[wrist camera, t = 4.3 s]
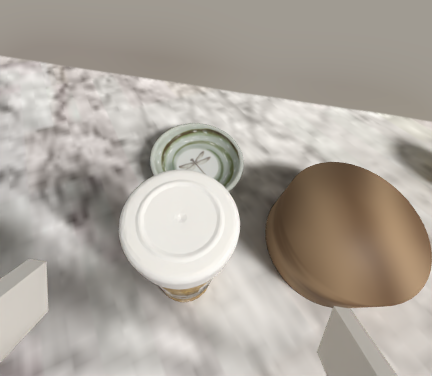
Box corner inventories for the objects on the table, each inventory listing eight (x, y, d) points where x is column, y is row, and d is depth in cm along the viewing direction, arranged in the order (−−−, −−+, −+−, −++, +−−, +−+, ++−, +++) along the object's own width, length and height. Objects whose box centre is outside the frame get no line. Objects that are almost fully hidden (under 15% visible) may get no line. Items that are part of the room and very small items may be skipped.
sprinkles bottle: (148, 282, 19) (85, 233, 8) (180, 238, 22) (169, 147, 10) (192, 315, 19) (197, 315, 7) (221, 266, 21) (263, 202, 9)
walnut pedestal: (264, 297, 20) (285, 293, 15) (266, 180, 26) (281, 152, 21) (398, 317, 20) (456, 318, 16) (370, 196, 26) (406, 172, 22)
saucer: (202, 228, 22) (204, 219, 20) (133, 172, 25) (128, 159, 22) (255, 167, 27) (261, 154, 24) (192, 124, 29) (193, 109, 27)
